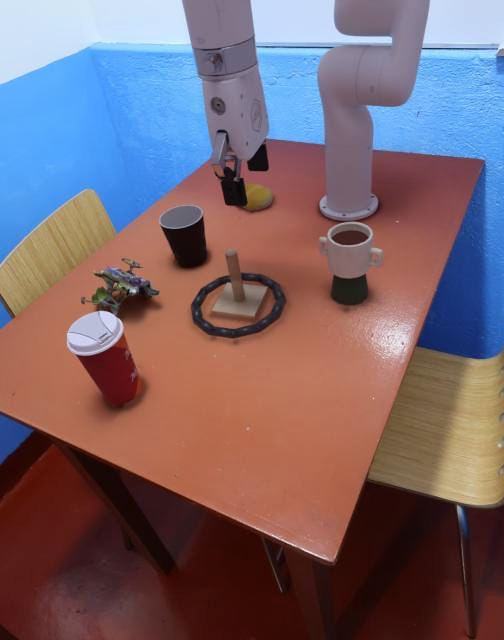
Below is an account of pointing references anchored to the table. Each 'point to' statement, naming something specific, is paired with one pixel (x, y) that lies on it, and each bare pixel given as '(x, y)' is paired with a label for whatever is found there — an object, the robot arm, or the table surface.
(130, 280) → the passion flower
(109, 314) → the paper cup
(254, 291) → the post
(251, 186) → the bread roll
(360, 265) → the white handled cup
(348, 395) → the table surface
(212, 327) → the ring
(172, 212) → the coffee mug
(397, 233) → the table surface
